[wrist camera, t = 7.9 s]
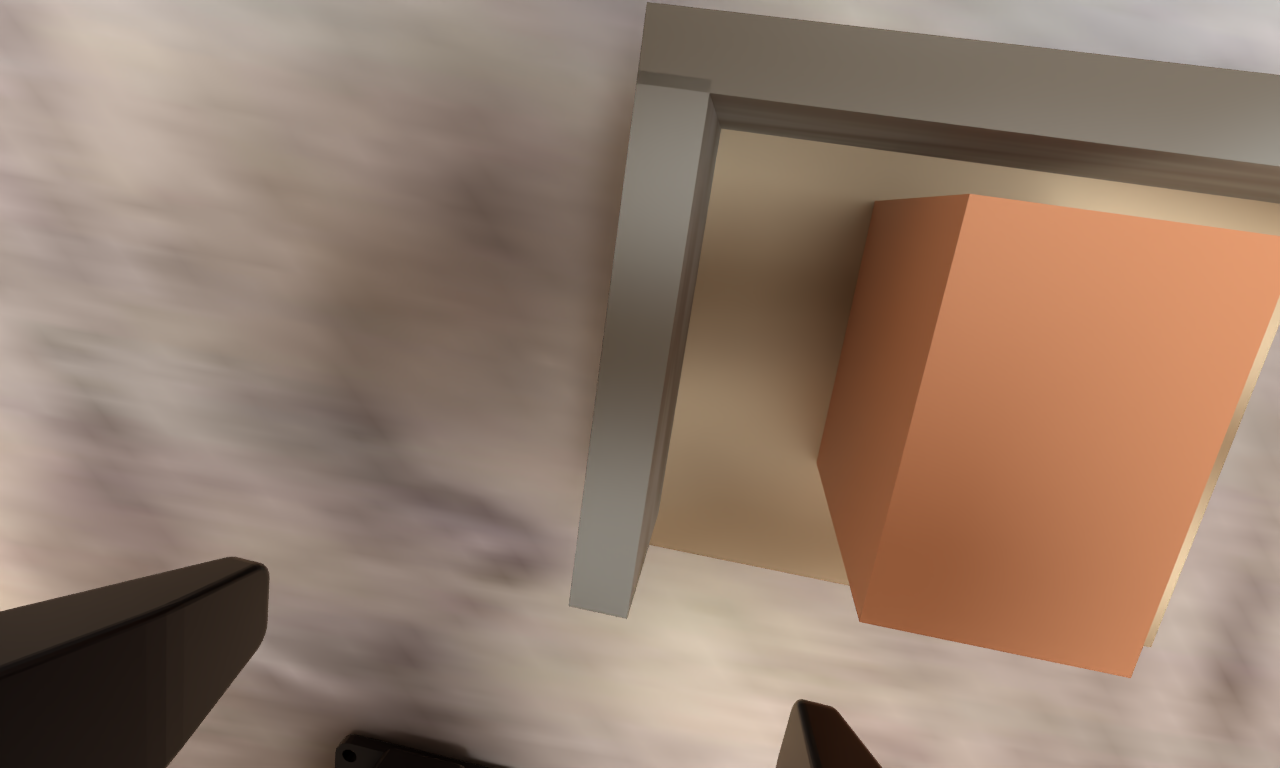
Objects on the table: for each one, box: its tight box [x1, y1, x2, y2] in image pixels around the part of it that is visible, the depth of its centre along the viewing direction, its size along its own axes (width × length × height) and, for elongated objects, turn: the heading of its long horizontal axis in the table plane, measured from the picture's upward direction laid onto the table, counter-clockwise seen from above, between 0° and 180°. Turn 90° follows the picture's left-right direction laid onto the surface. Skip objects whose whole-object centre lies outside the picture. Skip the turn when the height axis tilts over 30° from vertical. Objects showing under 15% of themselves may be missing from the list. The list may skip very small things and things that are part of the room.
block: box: [817, 194, 1280, 678], centre depth 13 cm, size 4×6×7 cm, turn 172°
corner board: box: [569, 2, 1280, 647], centre depth 14 cm, size 13×14×6 cm
